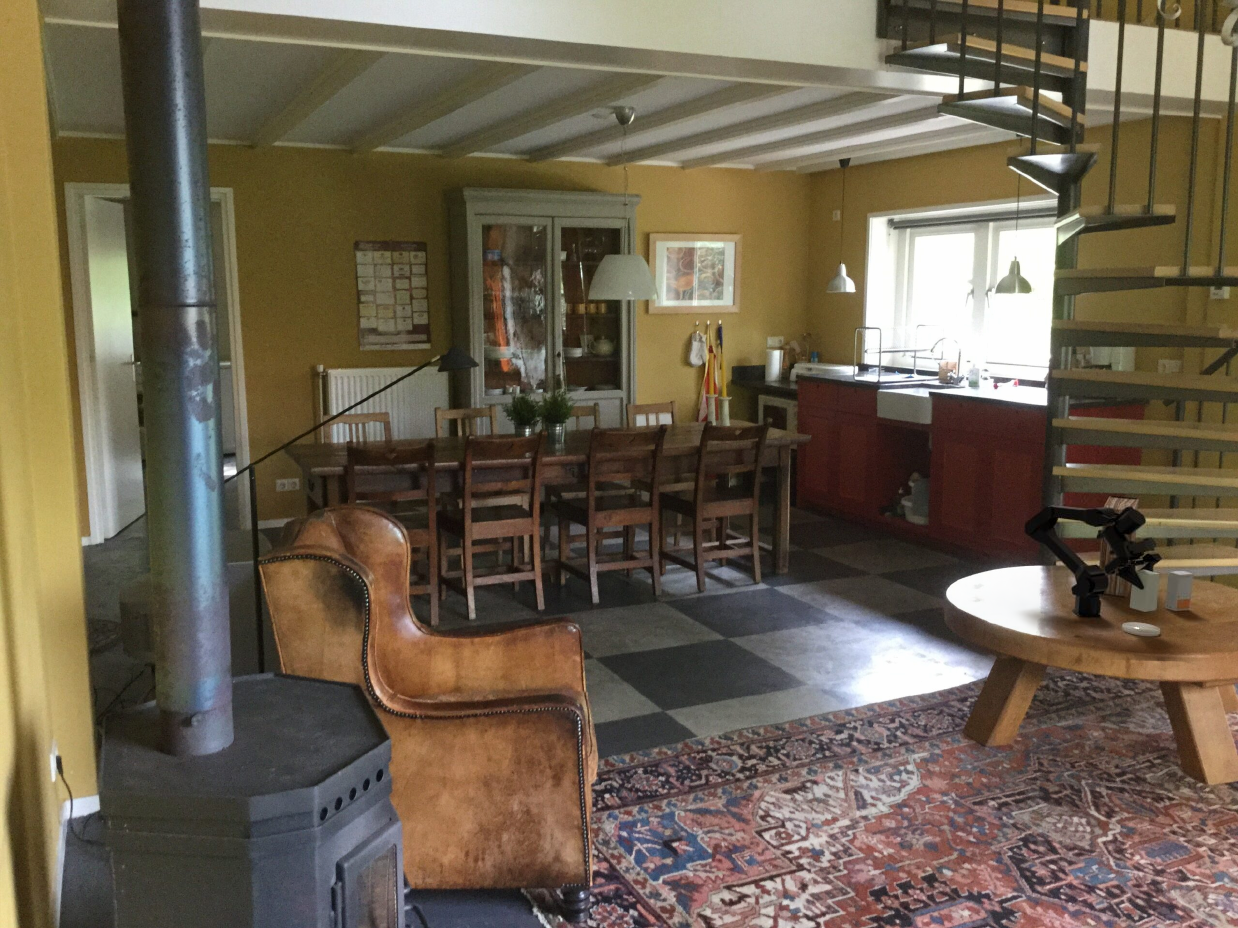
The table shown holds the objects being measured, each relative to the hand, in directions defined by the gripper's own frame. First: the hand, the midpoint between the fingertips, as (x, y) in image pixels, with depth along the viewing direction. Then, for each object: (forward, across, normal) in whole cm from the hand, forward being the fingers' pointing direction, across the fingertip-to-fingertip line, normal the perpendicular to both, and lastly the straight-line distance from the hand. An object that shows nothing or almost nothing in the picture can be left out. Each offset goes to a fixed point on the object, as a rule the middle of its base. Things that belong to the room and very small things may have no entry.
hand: (1149, 588), depth 304 cm
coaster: (+9, 0, +10) cm, 14 cm away
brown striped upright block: (-18, +36, +37) cm, 55 cm away
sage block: (+4, 0, +6) cm, 7 cm away
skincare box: (+1, +32, +19) cm, 37 cm away
